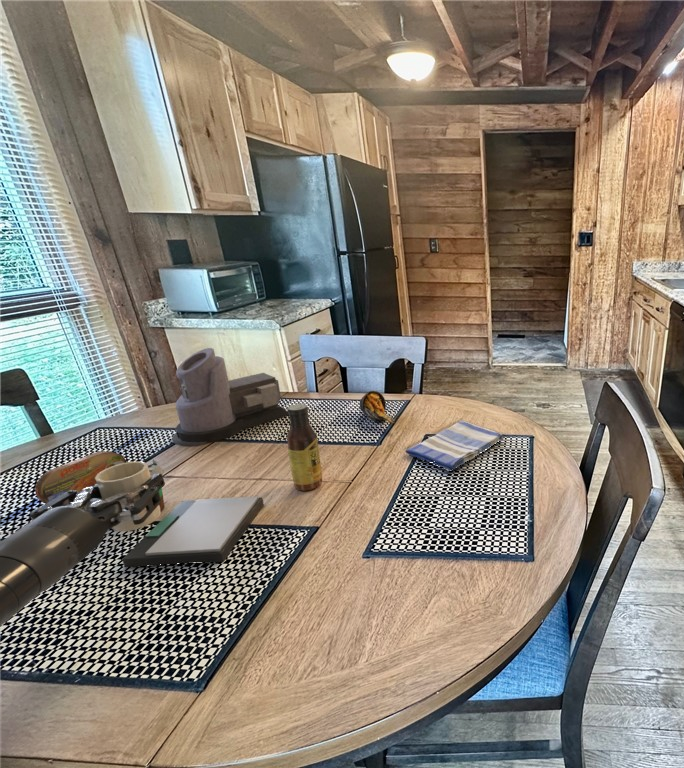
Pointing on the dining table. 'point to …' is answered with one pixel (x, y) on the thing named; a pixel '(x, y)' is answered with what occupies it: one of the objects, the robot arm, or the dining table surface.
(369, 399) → the fried shrimp in bowl
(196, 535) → the kitchen scale
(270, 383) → the juicer
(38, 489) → the tin
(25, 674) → the dining table surface
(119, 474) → the cup
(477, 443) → the dish towel
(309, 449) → the sauce bottle
